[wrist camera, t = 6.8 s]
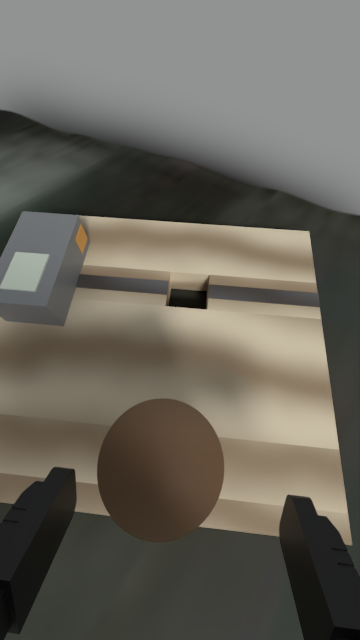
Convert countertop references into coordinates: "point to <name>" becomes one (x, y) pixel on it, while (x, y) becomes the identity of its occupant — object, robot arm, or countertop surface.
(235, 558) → the countertop surface
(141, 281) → the board
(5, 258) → the block
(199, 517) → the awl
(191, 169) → the countertop surface
